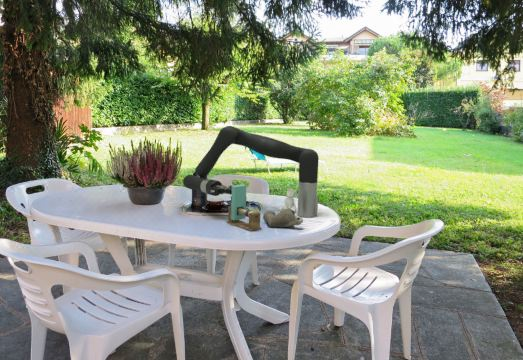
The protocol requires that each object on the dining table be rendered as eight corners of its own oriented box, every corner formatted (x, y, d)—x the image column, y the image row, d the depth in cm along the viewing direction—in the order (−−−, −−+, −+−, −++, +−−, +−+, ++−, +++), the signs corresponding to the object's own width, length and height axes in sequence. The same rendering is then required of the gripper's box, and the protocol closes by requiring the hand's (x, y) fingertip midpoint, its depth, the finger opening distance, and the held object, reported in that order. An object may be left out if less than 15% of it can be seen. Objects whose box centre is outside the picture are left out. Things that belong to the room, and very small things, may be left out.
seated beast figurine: (276, 211, 240) (277, 188, 238) (284, 208, 247) (284, 186, 245) (293, 214, 236) (294, 191, 233) (300, 210, 243) (301, 188, 241)
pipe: (279, 245, 210) (307, 228, 211) (274, 235, 203) (303, 218, 204) (264, 220, 221) (290, 204, 222) (258, 210, 214) (286, 193, 215)
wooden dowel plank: (226, 222, 215) (227, 206, 214) (237, 221, 219) (237, 204, 218) (250, 231, 202) (251, 213, 201) (261, 229, 206) (261, 212, 205)
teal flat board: (231, 219, 212) (231, 186, 209) (242, 217, 216) (242, 184, 213) (234, 220, 210) (235, 186, 207) (245, 218, 214) (246, 185, 212)
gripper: (222, 193, 233) (243, 198, 220) (200, 196, 225) (221, 202, 212) (222, 178, 232) (243, 182, 219) (199, 181, 223) (221, 185, 210)
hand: (232, 192), depth 215 cm, fingers closed
